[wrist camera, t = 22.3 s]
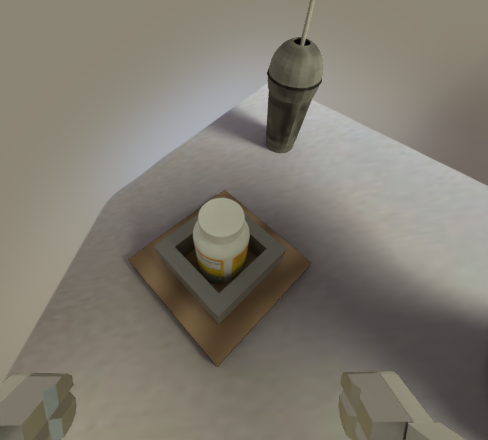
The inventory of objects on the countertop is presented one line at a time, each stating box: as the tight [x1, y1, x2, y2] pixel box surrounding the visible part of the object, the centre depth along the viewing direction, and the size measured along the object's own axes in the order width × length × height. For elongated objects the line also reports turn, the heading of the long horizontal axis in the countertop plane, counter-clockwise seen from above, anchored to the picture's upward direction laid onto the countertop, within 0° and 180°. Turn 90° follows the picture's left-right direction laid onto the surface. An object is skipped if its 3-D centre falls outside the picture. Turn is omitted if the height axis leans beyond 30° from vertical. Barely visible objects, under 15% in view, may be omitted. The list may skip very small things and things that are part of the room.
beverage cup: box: [266, 0, 323, 153], centre depth 35 cm, size 7×7×20 cm
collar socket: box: [128, 190, 311, 367], centre depth 29 cm, size 15×15×5 cm
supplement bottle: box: [193, 198, 250, 283], centre depth 26 cm, size 5×5×10 cm
